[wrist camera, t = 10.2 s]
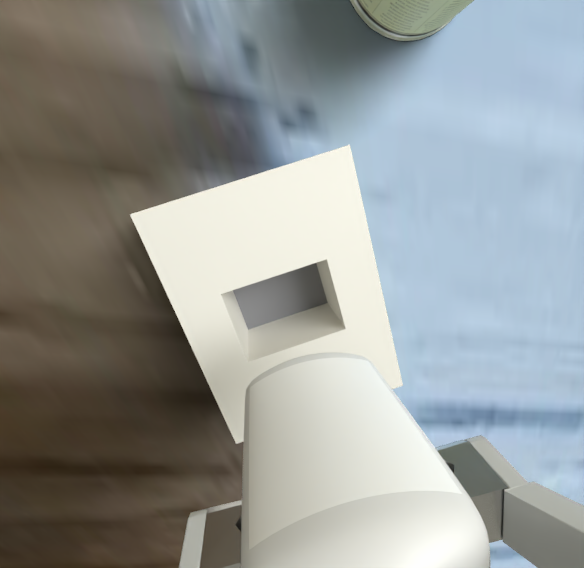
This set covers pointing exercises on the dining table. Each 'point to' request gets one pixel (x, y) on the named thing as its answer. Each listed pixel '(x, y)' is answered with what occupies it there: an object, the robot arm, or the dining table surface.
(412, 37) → the coffee can
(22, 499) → the dining table surface
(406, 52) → the dining table surface
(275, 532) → the white plastic bottle
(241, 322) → the holder block
